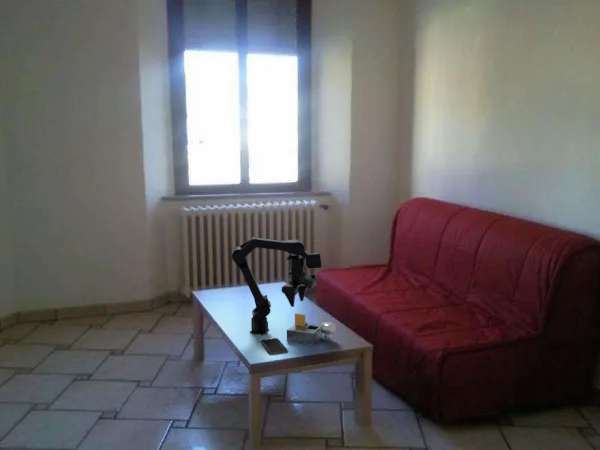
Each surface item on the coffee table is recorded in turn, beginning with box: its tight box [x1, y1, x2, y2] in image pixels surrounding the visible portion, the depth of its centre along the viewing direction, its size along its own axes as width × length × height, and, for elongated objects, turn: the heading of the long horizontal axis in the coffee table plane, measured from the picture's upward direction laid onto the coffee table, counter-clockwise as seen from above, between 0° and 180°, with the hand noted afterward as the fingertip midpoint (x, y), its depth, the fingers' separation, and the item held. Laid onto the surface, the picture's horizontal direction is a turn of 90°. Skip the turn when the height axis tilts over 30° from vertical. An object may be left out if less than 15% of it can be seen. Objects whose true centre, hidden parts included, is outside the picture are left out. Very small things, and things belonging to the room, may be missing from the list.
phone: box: [259, 337, 289, 356], centre depth 239 cm, size 8×1×15 cm
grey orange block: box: [294, 312, 308, 326], centre depth 250 cm, size 4×3×5 cm, turn 65°
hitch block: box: [286, 323, 324, 346], centre depth 247 cm, size 12×10×5 cm
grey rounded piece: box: [320, 321, 336, 343], centre depth 245 cm, size 6×6×7 cm
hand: (297, 303), depth 257 cm, fingers open, 9 cm apart
